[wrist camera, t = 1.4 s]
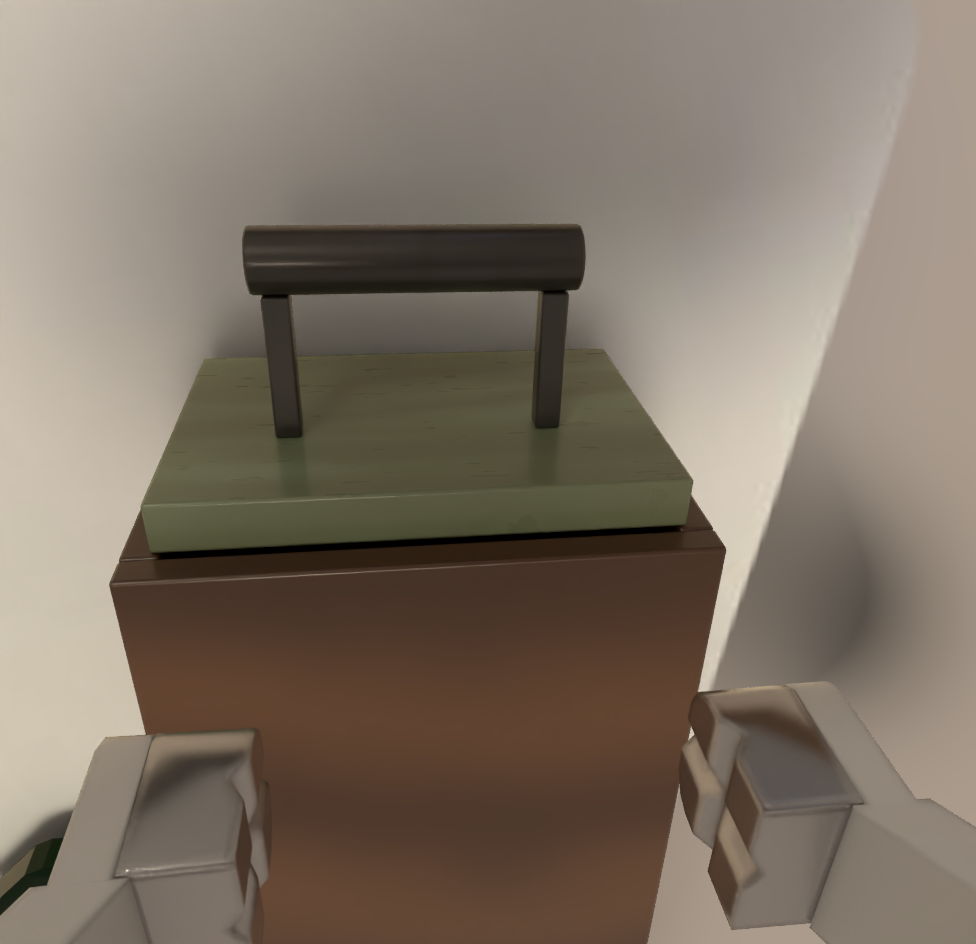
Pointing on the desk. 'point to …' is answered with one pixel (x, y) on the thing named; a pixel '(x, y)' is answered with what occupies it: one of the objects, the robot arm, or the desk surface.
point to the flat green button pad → (29, 872)
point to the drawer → (410, 412)
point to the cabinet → (443, 722)
